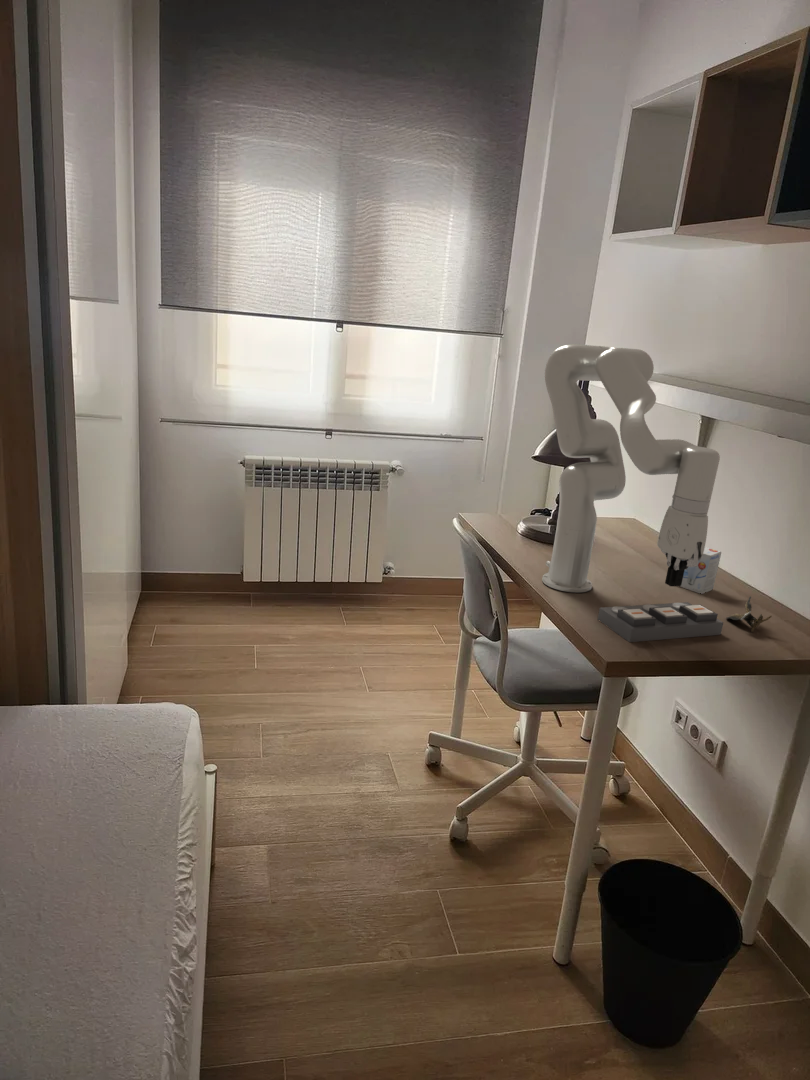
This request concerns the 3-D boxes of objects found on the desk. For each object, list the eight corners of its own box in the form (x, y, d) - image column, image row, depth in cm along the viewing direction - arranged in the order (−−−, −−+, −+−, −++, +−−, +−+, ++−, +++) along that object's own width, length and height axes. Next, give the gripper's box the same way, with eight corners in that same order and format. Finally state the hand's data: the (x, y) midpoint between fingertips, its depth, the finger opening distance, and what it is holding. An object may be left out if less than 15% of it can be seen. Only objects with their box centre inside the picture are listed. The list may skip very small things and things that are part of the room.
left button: (621, 616, 172) (622, 609, 171) (637, 615, 173) (639, 608, 173) (633, 624, 168) (635, 617, 167) (650, 623, 169) (651, 616, 169)
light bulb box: (664, 581, 208) (672, 543, 205) (676, 577, 213) (684, 540, 210) (702, 594, 201) (711, 555, 198) (713, 589, 206) (722, 551, 202)
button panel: (597, 619, 177) (600, 601, 176) (685, 613, 186) (689, 595, 185) (629, 642, 167) (633, 622, 165) (720, 634, 176) (725, 615, 174)
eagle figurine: (775, 628, 180) (752, 606, 187) (769, 606, 176) (746, 585, 184) (745, 643, 180) (723, 621, 188) (739, 622, 176) (717, 600, 184)
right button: (683, 612, 178) (684, 605, 177) (698, 611, 180) (700, 604, 179) (696, 620, 174) (697, 612, 174) (711, 619, 176) (713, 611, 175)
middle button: (652, 615, 175) (654, 607, 174) (668, 614, 176) (670, 606, 176) (665, 623, 171) (667, 615, 170) (681, 621, 173) (683, 614, 172)
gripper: (653, 495, 171) (638, 573, 177) (700, 515, 158) (681, 598, 164) (681, 495, 174) (664, 572, 180) (729, 515, 161) (709, 597, 166)
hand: (672, 584), depth 172 cm, fingers closed
